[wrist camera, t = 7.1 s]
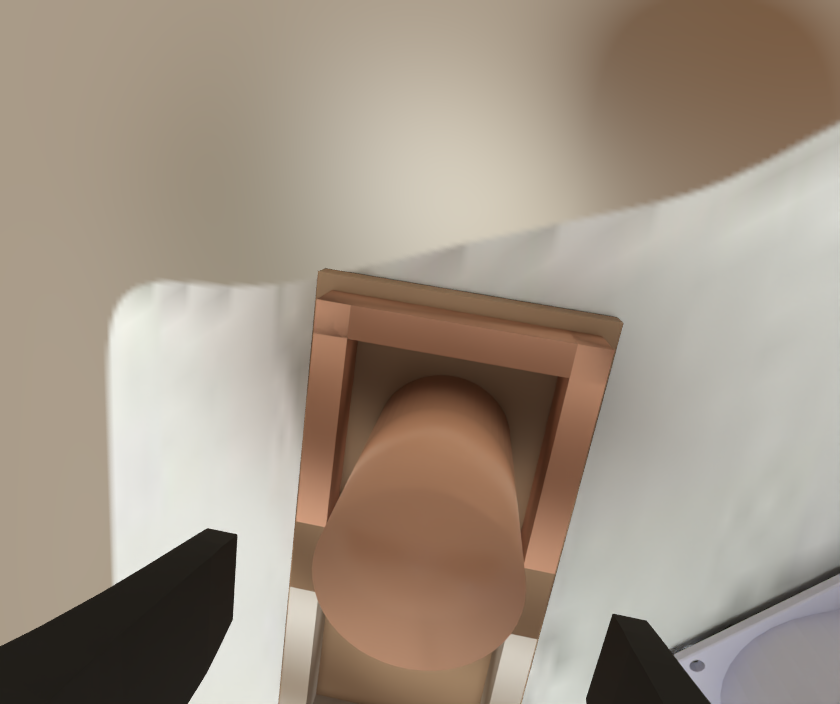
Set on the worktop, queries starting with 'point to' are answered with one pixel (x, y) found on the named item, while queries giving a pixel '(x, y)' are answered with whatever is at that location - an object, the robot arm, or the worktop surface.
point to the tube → (427, 532)
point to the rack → (530, 441)
